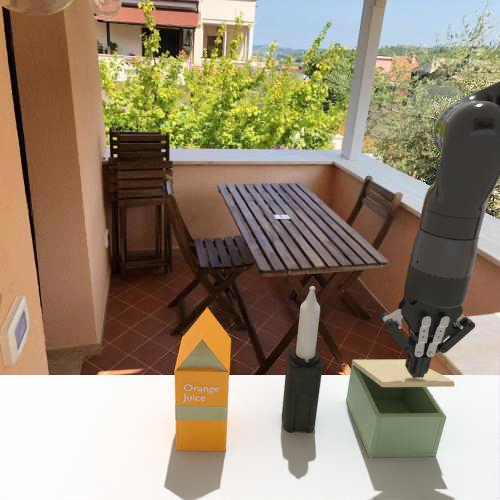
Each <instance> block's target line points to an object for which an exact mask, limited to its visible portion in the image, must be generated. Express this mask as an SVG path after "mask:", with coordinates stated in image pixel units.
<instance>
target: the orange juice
mask: <svg viewBox="0 0 500 500" xmlns="http://www.w3.org/2000/svg"><path fill="white" fill-rule="evenodd" d="M231 350H232V338H231V337H230V335H229V333H228V332H227V331H226V330H225V329H224V327H223V326H222V325H221V324H220V322H219V321H218V319H217V318H216V317H215V315H214V314H213V312H211V310H210V309H209V307H208V306H206V308H205V309H204V311H203V312H202V313H200V315H199V317H198V318H197V319H196V321H194V323H193V324H192V325H191V327H190V328H189V329H188V330H187V331H186V332H185V334H184V335H183V336H182V337H181V341H180V345H179V350H178V354H177V358H176V363H175V368H174V371H173V372H174V420H175V449H176V451H180V452H181V451H185V452H227V439H228V438H227V435H228V413H229V388H230V373H231V352H232V351H231Z"/></svg>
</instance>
